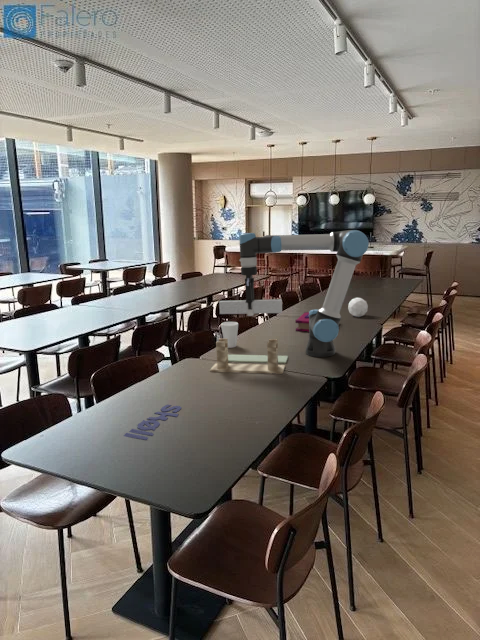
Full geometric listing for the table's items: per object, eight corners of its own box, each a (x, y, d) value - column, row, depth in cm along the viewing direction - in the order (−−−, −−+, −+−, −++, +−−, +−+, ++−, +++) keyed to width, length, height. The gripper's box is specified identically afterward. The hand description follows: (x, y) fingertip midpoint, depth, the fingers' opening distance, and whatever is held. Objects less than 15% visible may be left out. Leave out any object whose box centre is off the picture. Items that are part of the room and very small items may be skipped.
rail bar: (282, 311, 228) (281, 299, 227) (281, 312, 225) (281, 300, 224) (221, 312, 233) (220, 300, 231) (219, 314, 230) (219, 301, 229)
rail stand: (284, 367, 225) (284, 338, 222) (282, 373, 216) (282, 344, 213) (215, 365, 232) (214, 337, 229) (210, 371, 222) (208, 342, 219)
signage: (166, 403, 184) (188, 407, 180) (166, 405, 184) (188, 408, 181) (121, 434, 159) (146, 439, 155) (121, 436, 159) (146, 441, 155)
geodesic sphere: (343, 306, 340) (347, 292, 330) (362, 305, 341) (366, 291, 331) (348, 321, 331) (353, 308, 320) (367, 320, 332) (372, 306, 322)
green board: (288, 357, 241) (287, 355, 240) (286, 363, 231) (286, 361, 231) (222, 355, 247) (222, 354, 247) (218, 361, 238) (218, 360, 238)
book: (336, 323, 314) (336, 312, 312) (328, 333, 288) (328, 321, 287) (305, 322, 321) (304, 311, 319) (294, 331, 295) (294, 319, 294)
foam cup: (236, 348, 260) (236, 325, 257) (220, 348, 262) (219, 325, 259) (240, 344, 269) (239, 321, 266) (224, 343, 271) (223, 321, 268)
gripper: (243, 264, 233) (245, 311, 237) (238, 268, 217) (240, 318, 222) (258, 264, 231) (260, 311, 236) (254, 267, 216) (256, 318, 221)
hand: (251, 314), depth 229 cm, fingers closed on rail bar, 3 cm apart
